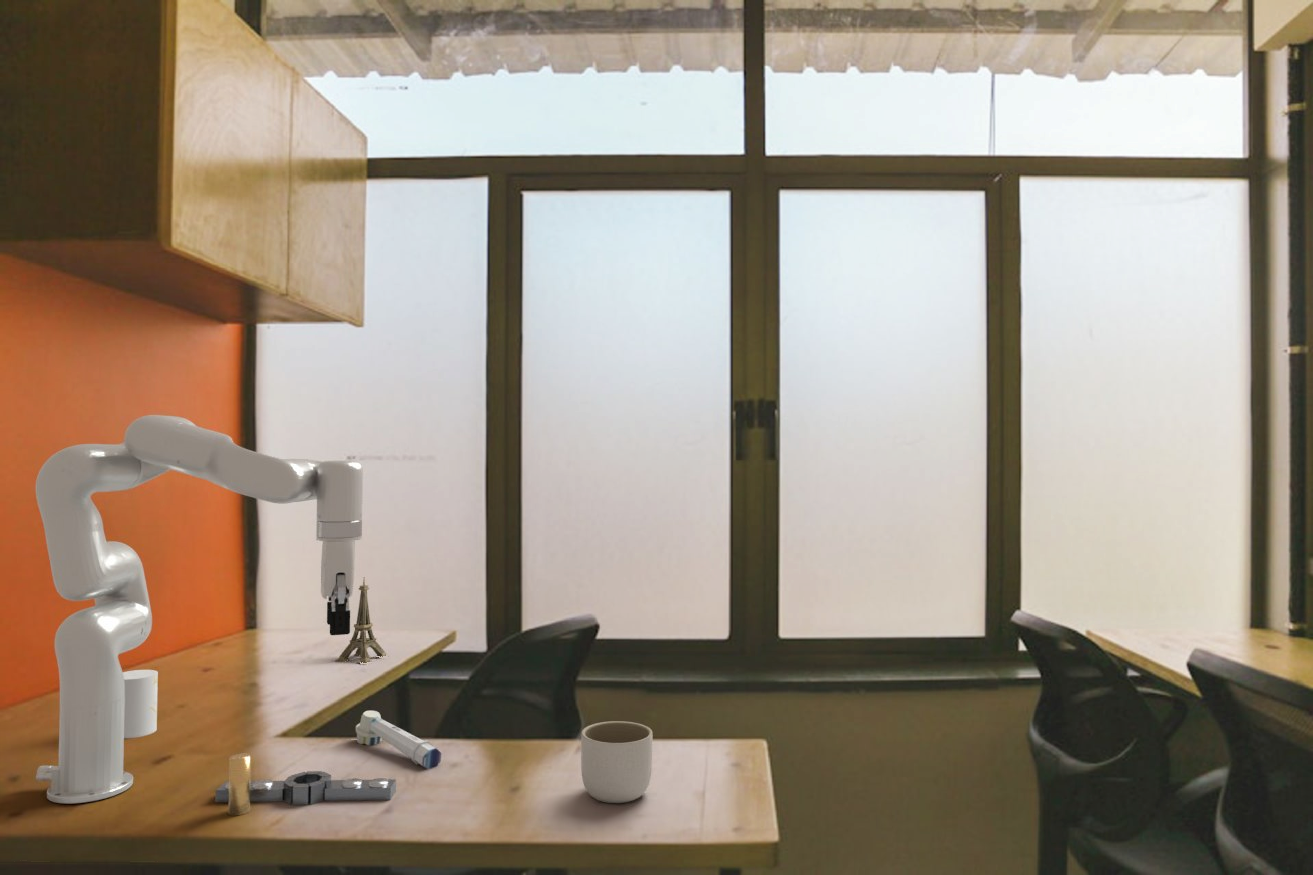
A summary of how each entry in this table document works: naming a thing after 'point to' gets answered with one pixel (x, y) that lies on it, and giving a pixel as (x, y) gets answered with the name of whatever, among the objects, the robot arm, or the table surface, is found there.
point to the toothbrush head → (396, 739)
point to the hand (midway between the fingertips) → (338, 628)
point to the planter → (616, 760)
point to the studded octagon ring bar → (314, 789)
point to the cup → (140, 703)
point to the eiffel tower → (362, 633)
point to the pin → (239, 784)
